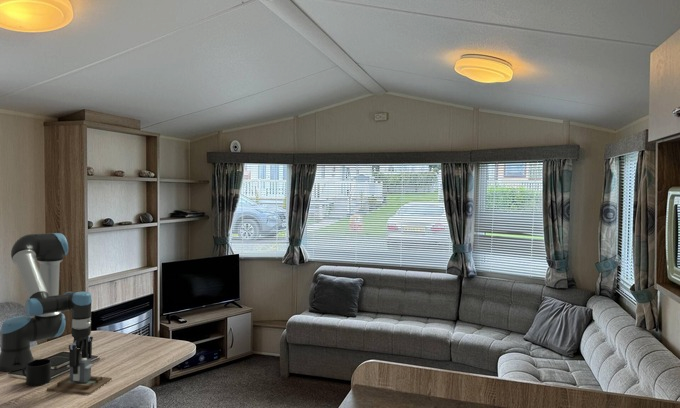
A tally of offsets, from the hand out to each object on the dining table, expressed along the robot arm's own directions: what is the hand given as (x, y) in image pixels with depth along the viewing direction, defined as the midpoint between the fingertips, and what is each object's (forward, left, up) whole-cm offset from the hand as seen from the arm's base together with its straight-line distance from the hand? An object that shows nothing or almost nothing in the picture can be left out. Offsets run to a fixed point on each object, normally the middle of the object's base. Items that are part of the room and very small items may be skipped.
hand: (80, 378), depth 213 cm
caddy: (0, 0, -3) cm, 3 cm away
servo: (0, 0, -1) cm, 1 cm away
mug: (-21, -1, -3) cm, 21 cm away
